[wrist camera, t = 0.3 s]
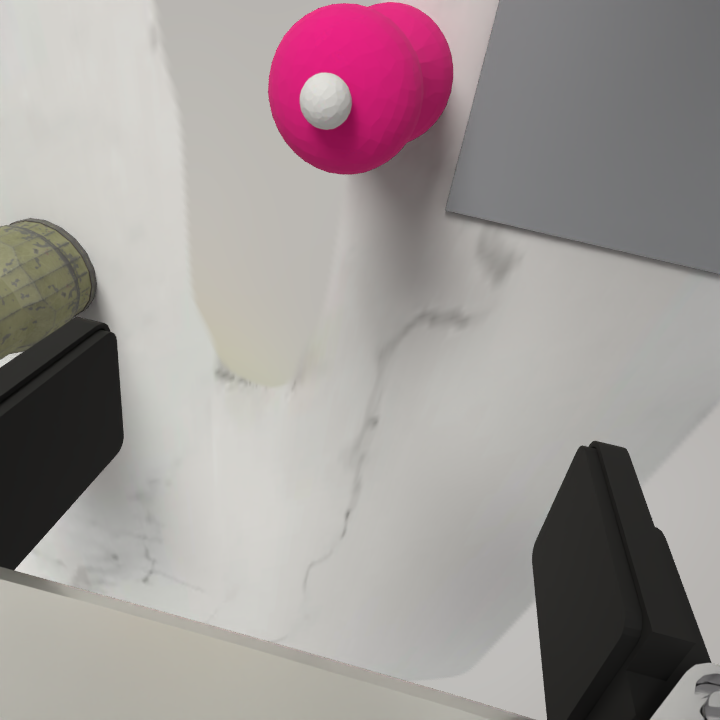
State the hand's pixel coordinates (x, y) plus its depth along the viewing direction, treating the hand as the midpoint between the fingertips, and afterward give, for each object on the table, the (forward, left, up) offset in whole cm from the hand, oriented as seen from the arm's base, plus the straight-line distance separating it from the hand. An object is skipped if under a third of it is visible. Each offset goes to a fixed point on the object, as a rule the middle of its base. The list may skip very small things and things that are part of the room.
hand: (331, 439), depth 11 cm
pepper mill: (-5, -4, -31) cm, 32 cm away
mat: (-5, +11, -31) cm, 33 cm away
